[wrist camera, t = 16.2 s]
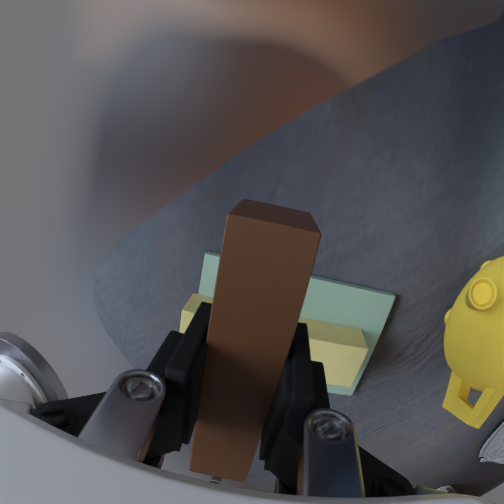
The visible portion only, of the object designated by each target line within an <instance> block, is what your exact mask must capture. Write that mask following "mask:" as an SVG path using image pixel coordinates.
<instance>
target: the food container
mask: <svg viewBox="0 0 504 504" xmlns="http://www.w3.org/2000/svg"><path fill="white" fill-rule="evenodd" d="M479 457H484V458H482V459H481V460H480V462H481V461H482V462H486V460H487V461H492V462H496V463H500V464H504V422H503V423H502V424H501V425H500V427H498V428H497V430H495V432H494V433H493V434H492V435H491V436H490V438H489V439H488V440H487V442H486V443H485V444H484V445H483V447H482V449H481V451H480V454H479Z"/></svg>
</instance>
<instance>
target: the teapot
mask: <svg viewBox="0 0 504 504" xmlns="http://www.w3.org/2000/svg"><path fill="white" fill-rule="evenodd" d="M445 324H446V327H445V333H444V353H445V357H446V361H447V363H448V365H449V367H450V368H451V369H452V373H451V377H450V381H449V385H448V388H447V392H446V396H445V399H444V402H443V406H442V407H443V408H445V409H446V410H448V411H449V412H450V413H452V414H453V415H455V416H456V417H458V418H459V419H460V420H462V421H463V422H465V423H466V424H467V425H469V426H471V427H474V428H477V429H479V428H480V427H481V425H482V424H483V423H484V421H485V420H486V419H487V418H488V416H489V415H490V413H491V412H492V411H493V409H494V408H495V407H496V405H497V404H498V402H499V401H500V399H501V398H502V397H503V396H504V256H502V257H499V258H497V259H495V260H493V261H491V260H489V261H486V262H485V263H484V264H483V265H482V267H481V269H480V270H479V271H478V272H477V273H476V274H475V275H474V276H473V277H472V278H471V279H470V280H469V281H468V282H467V284H466V285H465V286H464V288H463V289H462V291H461V292H460V293H459V295H458V297H457V299H456V301H455V303H454V305H453V307H452V308H451V309H450V310H449V311H448V312H447V313H446V315H445ZM471 387H472V388H474V389H476V390H478V391H481V392H483V393H482V395H481V396H480V398H479V400H478V401H477V403H476V405H475V406H472V405H471V404H470V403H469V402H468V401H467V399H468V396H469V392H470V388H471Z"/></svg>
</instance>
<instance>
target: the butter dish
mask: <svg viewBox="0 0 504 504" xmlns="http://www.w3.org/2000/svg"><path fill="white" fill-rule="evenodd" d="M219 258H220V254H218V253H214V252H210V251H207V252H206V253H205V257H204V263H203V269H202V275H201V281H200V288H199V295H203V296H207V297H211V298H213V295H214V289H215V282H216V276H217V270H218V264H219ZM395 297H396V296H395V295H394V294H393V293H390V292H386V291H381V290H377V289H372V288H368V287H363V286H359V285H354V284H350V283H345V282H341V281H337V280H332V279H328V278H323V277H319V276H314V275H311V277H310V281H309V285H308V288H307V292H306V296H305V299H304V303H303V306H302V310H301V314H300V317H301V318H306V319H311V320H316V321H321V322H326V323H331V324H336V325H341V326H346V327H352V328H357V329H361V331H362V333H363V336H364V338H365V341H366V343H367V346H368V349H369V350H368V352H367V354H366V357H365V359H364V361H363V363H362V365H361V367H360V370H359V372H358V374H357V376H356V378H355V380H354V382H353V384H352V386H351V387H344V386H337V385H330V384H327V391H328V393H334V394H342V395H350V396H352V394H353V392H354V390H355V388H356V386H357V384H358V382H359V380H360V378H361V376H362V374H363V372H364V370H365V368H366V366H367V363H368V361H369V359H370V357H371V355H372V353H373V350H374V348H375V346H376V344H377V341H378V339H379V337H380V334H381V332H382V330H383V327H384V325H385V323H386V320H387V318H388V315H389V313H390V310H391V308H392V305H393V303H394V300H395Z"/></svg>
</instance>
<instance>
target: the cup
mask: <svg viewBox="0 0 504 504" xmlns="http://www.w3.org/2000/svg"><path fill="white" fill-rule="evenodd" d="M436 490H439V491H443V492H448V493H452V494H458V493H457V492H456V491H455V490H454V489H453V488H452V486H449V485H448V486H443V487H440V488H438V489H436Z"/></svg>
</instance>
